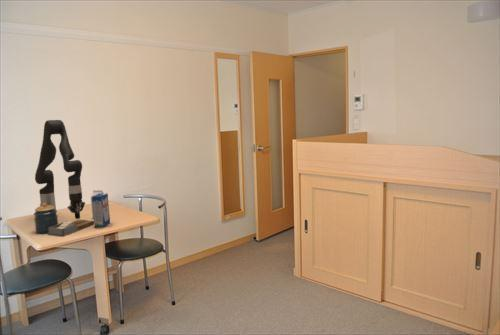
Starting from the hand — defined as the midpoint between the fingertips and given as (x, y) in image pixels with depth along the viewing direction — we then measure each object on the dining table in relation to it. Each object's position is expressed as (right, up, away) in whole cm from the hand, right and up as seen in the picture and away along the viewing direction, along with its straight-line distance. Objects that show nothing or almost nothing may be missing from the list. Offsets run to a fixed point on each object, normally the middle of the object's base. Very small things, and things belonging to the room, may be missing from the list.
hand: (77, 218), depth 253 cm
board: (0, -5, 0) cm, 5 cm away
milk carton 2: (+15, -5, +2) cm, 16 cm away
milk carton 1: (+6, -2, +23) cm, 24 cm away
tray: (-4, -7, -11) cm, 14 cm away
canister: (-16, -7, -5) cm, 19 cm away
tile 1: (-5, -7, -13) cm, 16 cm away
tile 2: (-3, -5, -8) cm, 10 cm away
